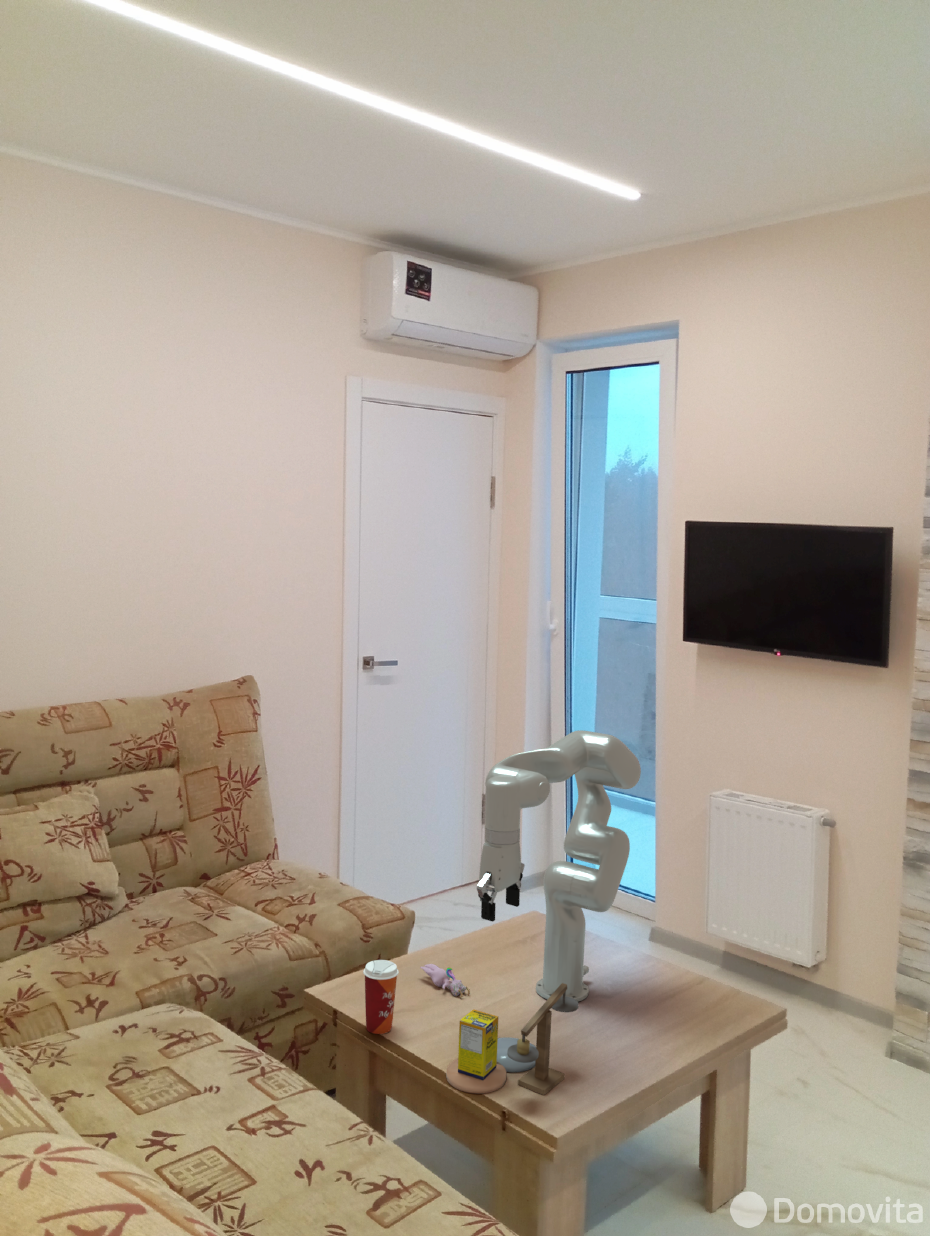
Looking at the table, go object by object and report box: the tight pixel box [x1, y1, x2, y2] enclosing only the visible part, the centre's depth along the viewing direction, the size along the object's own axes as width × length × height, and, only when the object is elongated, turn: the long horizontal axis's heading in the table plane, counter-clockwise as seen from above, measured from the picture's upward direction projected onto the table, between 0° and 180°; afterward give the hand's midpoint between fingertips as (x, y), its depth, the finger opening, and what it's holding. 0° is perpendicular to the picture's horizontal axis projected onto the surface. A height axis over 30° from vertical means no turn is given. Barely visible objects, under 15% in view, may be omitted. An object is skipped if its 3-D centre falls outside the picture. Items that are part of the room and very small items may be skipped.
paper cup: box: [362, 959, 399, 1035], centre depth 219 cm, size 8×8×14 cm
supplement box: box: [457, 1008, 499, 1080], centre depth 201 cm, size 6×6×11 cm
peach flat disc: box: [445, 1058, 507, 1095], centre depth 201 cm, size 12×12×1 cm
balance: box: [507, 983, 579, 1096], centre depth 200 cm, size 21×6×18 cm, turn 145°
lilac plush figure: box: [419, 963, 471, 999], centre depth 241 cm, size 6×6×15 cm
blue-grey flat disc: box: [497, 1036, 536, 1073], centre depth 209 cm, size 12×12×1 cm
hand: (500, 912), depth 215 cm, fingers open, 9 cm apart
